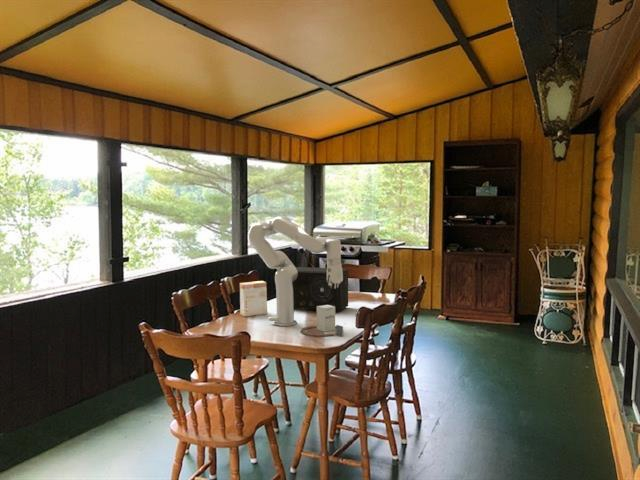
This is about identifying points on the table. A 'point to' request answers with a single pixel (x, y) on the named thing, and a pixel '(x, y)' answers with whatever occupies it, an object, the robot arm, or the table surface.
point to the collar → (338, 332)
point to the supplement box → (325, 318)
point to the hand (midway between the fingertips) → (334, 295)
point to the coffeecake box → (253, 298)
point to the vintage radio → (318, 289)
